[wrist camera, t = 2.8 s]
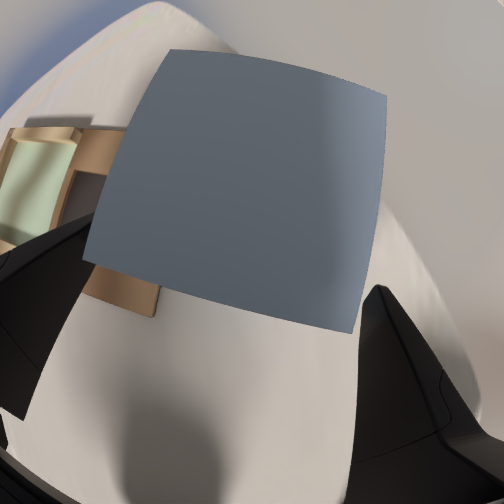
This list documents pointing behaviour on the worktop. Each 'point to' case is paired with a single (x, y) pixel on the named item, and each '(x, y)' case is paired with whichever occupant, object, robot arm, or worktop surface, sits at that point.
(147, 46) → the worktop surface
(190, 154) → the block
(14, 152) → the tray
